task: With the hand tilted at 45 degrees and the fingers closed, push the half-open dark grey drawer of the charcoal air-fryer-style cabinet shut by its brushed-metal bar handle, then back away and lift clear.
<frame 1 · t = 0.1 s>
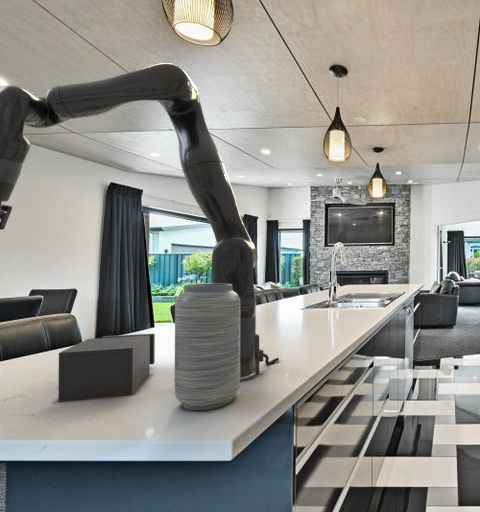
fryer: (108, 387, 85), on the counter
dark grey drawer: (124, 353, 95), point 5 cm above the counter, slide at 7.0 cm
vase: (208, 403, 75), on the counter
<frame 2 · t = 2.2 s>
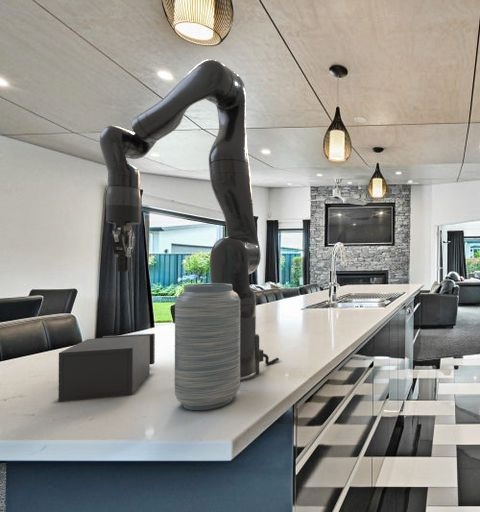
hand: (123, 271, 101), 25 cm above the counter, tool pointing down, fingers closed
nothing on the counter moved.
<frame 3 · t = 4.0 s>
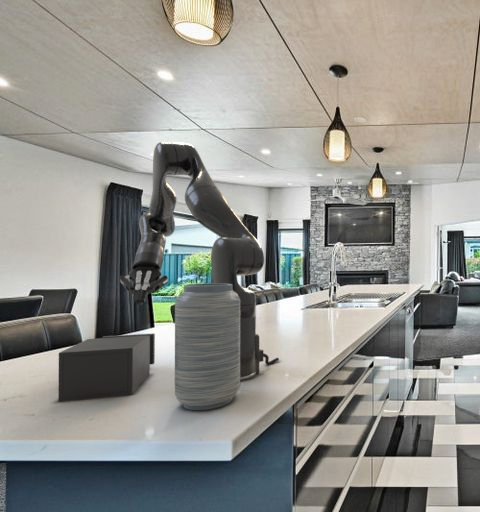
hand: (139, 302, 109), 16 cm above the counter, tool tilted 45°, fingers closed
nothing on the counter moved.
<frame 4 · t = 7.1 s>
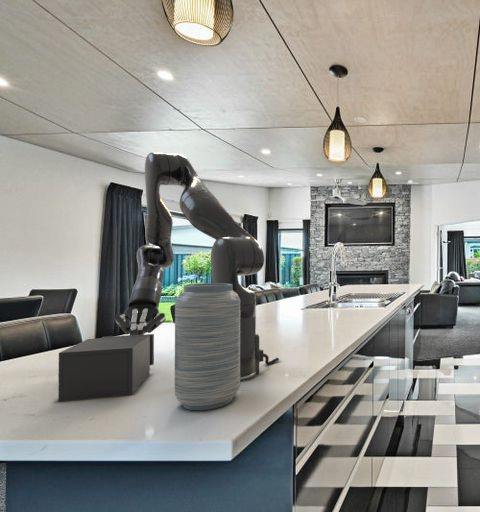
hand: (134, 344, 103), 5 cm above the counter, tool tilted 45°, fingers closed
dark grey drawer: (123, 354, 94), point 5 cm above the counter, slide at 6.1 cm, touching gripper
everything else where it was.
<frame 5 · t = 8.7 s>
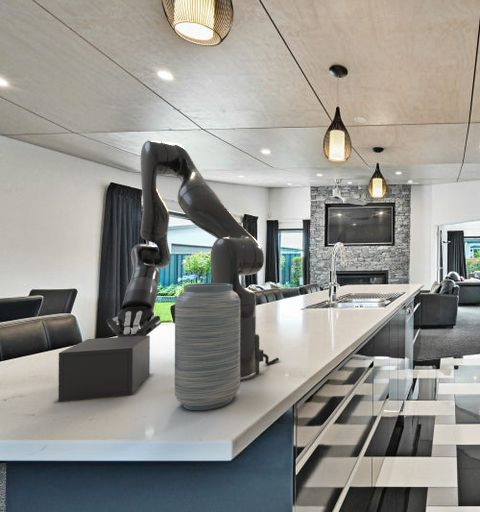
hand: (127, 349, 98), 5 cm above the counter, tool tilted 45°, fingers closed
dark grey drawer: (114, 360, 89), point 5 cm above the counter, slide at 0.0 cm, touching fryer, gripper
everything else where it was.
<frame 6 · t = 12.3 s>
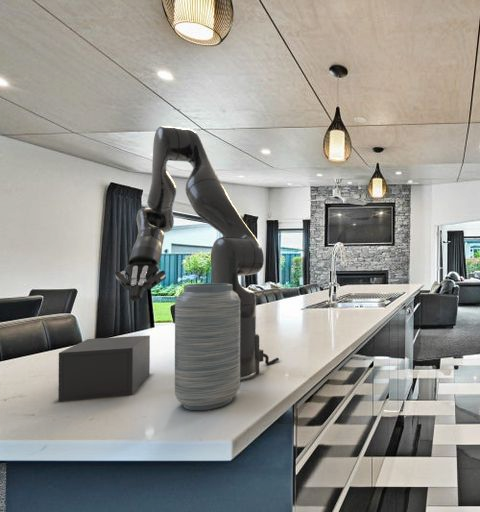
hand: (134, 298, 104), 18 cm above the counter, tool tilted 45°, fingers closed
dark grey drawer: (114, 360, 89), point 5 cm above the counter, slide at 0.0 cm
everything else where it was.
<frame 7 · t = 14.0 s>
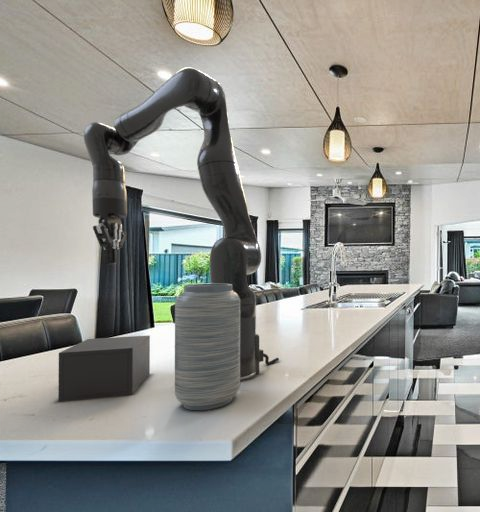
hand: (111, 263, 102), 27 cm above the counter, tool pointing down, fingers closed
nothing on the counter moved.
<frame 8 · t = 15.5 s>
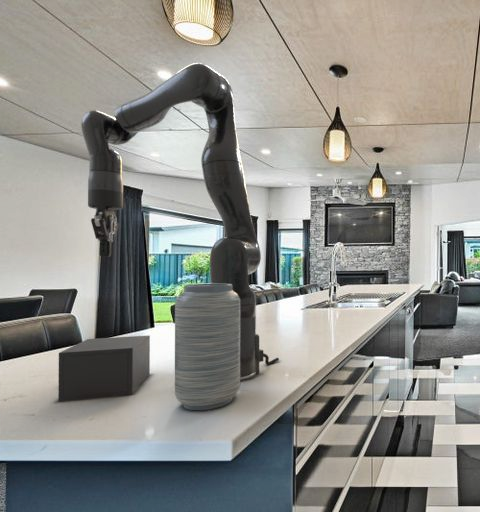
hand: (105, 256, 101), 29 cm above the counter, tool pointing down, fingers closed
nothing on the counter moved.
at the end: dark grey drawer slide at 0.0 cm; vase moved 0.2 cm from its start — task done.
